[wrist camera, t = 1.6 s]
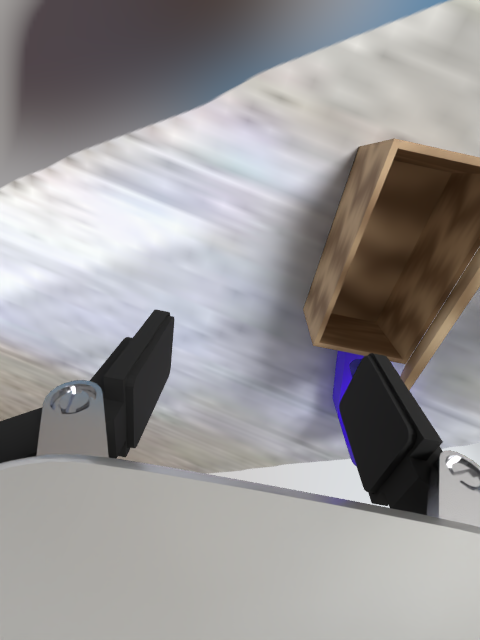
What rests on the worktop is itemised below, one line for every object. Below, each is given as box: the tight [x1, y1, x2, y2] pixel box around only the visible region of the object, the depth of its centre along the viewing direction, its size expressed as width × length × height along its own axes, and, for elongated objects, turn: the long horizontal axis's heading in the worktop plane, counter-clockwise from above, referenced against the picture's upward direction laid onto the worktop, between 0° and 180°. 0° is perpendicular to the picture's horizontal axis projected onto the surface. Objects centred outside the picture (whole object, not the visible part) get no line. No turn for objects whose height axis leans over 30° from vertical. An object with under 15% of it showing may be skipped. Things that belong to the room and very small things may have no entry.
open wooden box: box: [303, 139, 480, 364], centre depth 33 cm, size 22×12×10 cm, turn 169°
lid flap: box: [400, 247, 480, 390], centre depth 24 cm, size 22×12×1 cm
